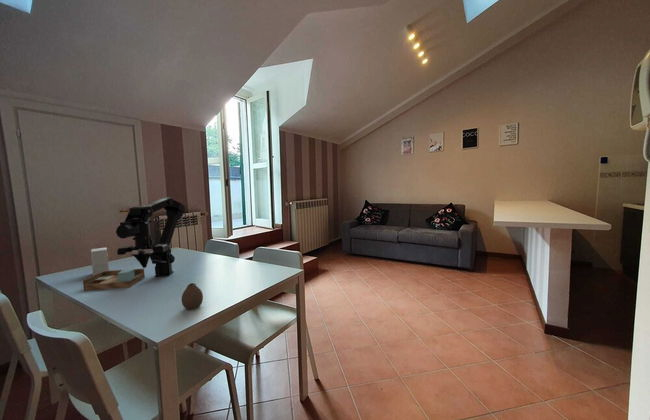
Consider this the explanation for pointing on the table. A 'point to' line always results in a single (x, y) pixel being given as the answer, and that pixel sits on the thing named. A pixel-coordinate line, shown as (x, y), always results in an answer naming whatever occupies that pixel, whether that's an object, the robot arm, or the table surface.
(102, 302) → the table surface
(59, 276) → the table surface
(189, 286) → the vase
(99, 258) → the small box
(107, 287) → the box
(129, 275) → the block
